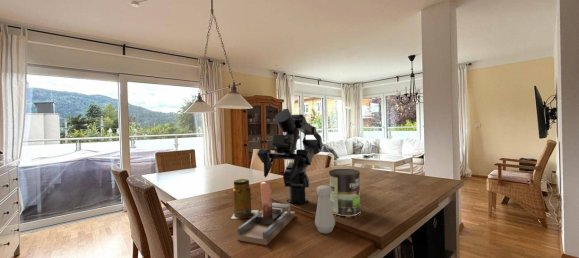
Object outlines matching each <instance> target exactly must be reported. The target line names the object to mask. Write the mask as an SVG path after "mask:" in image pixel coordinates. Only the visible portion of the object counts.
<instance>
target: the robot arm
mask: <svg viewBox="0 0 579 258" xmlns="http://www.w3.org/2000/svg"><path fill="white" fill-rule="evenodd" d="M274 120H275V121H276V124H277V126H278V128H279V130H280V132H282V133H283V134H273V135H272V139H271V145H272V146H274V150H275V151H277V152H272V151H271V149H270V148H259V149H258V151H257V153H256V154H257V157H258V158H259V160H260V161H261V163H263V176H264V178H267V177H268V175H269V173H270V171H271V169H272V167H273V162H274V160H275V159H276V160H277V159H278V160H284V161H285V160H291V161H293V162H289V163H288V165H287V166H286V167H285V170H284V171H283V175H282V178H283V183H284V187H288V189H289V198H287V199H286V201H287V202H288V201H290V202H292V203H294V204H298V205H300V203H302V204H304V202H305V203H308V201H309V200H308V199H306V188H309V187H310V178H309V177H308V174H307V172H306V170H307V168H308V166H311V165H312V160H313V158H314V156H315V155H318V154H320V152H322V149H323V140H322V136H321V135H320V134H319V133H318V132H317V128H316V126H313V125H312V124H310V123H309V122H307V118H306V117H305V116H304V114H303V113H301V114H292V113H291V112H290V109H289V108H283V109H282V111H279V112H278V113H277V114H275V117H274ZM300 133H302V134H303V135H304V136H303V139H302V141H301V142H302V145H303V148H304V149H301V148H299V149H298V148H297V143H298V140H300V139H301V136H300ZM307 136H313V137H314V139H306V137H307ZM290 202H289V203H290ZM292 203H291V204H292ZM294 204H293V205H294Z"/></svg>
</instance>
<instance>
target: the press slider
mask: <svg viewBox="0 0 579 258" xmlns="http://www.w3.org/2000/svg"><path fill="white" fill-rule="evenodd" d="M272 195H273V193H272V181H270V180H263V181H260V203H261V204H260V205H261V207H260V209H261V210H262V212H261V213H260V214H259V215H257V216H256V223H259V224H266V225H271V224H273V223H274V222H275V221H276V220H277V219H278V218H279V217H280V216H281V215H282V208H273V207H272V203H273V196H272Z"/></svg>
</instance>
